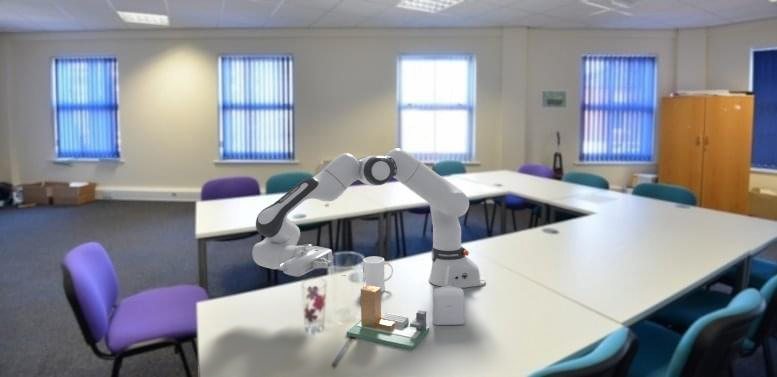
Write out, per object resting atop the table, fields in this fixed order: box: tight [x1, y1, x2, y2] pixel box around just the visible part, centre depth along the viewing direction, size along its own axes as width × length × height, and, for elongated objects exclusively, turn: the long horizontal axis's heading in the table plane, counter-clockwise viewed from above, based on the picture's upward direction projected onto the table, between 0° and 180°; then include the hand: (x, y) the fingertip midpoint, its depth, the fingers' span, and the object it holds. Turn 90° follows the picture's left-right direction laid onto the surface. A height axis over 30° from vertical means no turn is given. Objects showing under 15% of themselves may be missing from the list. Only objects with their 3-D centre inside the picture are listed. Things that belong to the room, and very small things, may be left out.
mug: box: [362, 255, 394, 293], centre depth 187 cm, size 12×8×12 cm
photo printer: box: [432, 286, 465, 326], centre depth 157 cm, size 10×4×12 cm, turn 90°
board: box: [346, 309, 430, 351], centre depth 151 cm, size 22×14×6 cm, turn 65°
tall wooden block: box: [360, 285, 395, 331], centre depth 152 cm, size 10×4×12 cm, turn 65°
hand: (329, 264), depth 157 cm, fingers closed
